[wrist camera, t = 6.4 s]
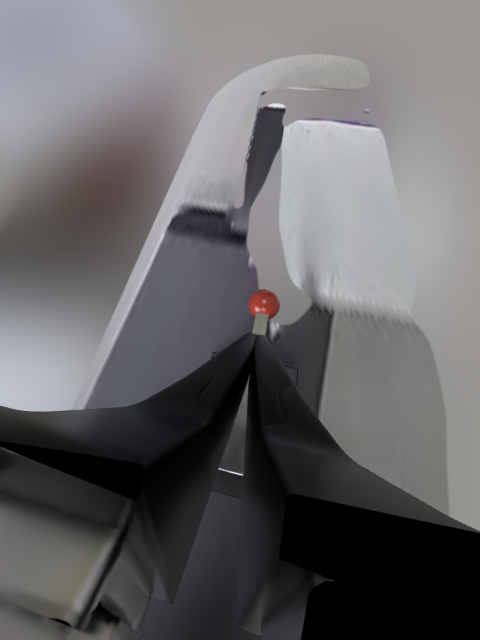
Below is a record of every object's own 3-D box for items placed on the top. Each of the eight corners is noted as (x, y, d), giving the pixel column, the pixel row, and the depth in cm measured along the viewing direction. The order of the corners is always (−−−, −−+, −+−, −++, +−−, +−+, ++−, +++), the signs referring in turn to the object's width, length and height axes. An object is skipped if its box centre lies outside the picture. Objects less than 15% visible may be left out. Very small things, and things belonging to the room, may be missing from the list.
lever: (251, 299, 20) (252, 280, 18) (278, 303, 20) (283, 285, 17) (214, 461, 13) (208, 467, 11) (255, 472, 13) (258, 481, 11)
